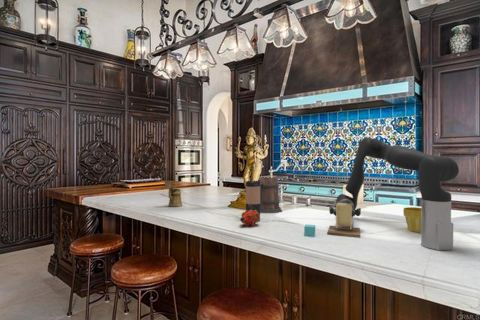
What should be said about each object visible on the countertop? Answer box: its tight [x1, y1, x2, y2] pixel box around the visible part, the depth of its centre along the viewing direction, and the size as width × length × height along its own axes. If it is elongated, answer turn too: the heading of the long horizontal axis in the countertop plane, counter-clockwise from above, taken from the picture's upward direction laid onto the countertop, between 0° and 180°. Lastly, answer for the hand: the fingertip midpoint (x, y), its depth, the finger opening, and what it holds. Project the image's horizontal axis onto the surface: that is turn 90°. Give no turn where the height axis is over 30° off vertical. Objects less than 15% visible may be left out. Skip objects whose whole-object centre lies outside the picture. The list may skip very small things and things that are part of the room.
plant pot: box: [403, 206, 421, 233], centre depth 134 cm, size 10×10×10 cm
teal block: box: [303, 224, 316, 238], centre depth 127 cm, size 4×4×4 cm
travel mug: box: [245, 180, 261, 220], centre depth 157 cm, size 8×8×20 cm
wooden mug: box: [163, 179, 183, 208], centre depth 195 cm, size 9×14×18 cm, turn 151°
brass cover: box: [335, 203, 353, 229], centre depth 131 cm, size 6×6×10 cm
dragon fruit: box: [239, 209, 261, 227], centre depth 143 cm, size 8×8×12 cm
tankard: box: [259, 176, 283, 214], centre depth 179 cm, size 24×17×20 cm
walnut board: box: [326, 225, 361, 238], centre depth 131 cm, size 13×13×1 cm
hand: (344, 214), depth 129 cm, fingers closed on brass cover, 6 cm apart
